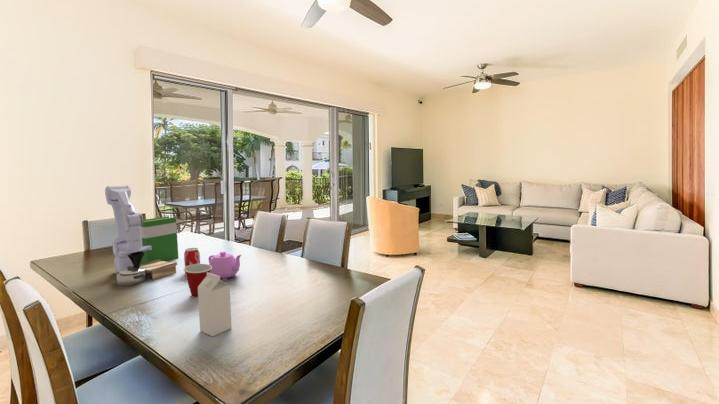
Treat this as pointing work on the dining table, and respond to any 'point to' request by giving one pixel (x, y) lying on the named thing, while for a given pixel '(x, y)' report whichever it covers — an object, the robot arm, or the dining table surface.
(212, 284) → the milk carton
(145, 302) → the dining table surface
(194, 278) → the plastic cup
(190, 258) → the soda can
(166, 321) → the dining table surface
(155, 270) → the lid rest
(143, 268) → the lid
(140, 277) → the cooker
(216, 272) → the teapot
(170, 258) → the hardback book
